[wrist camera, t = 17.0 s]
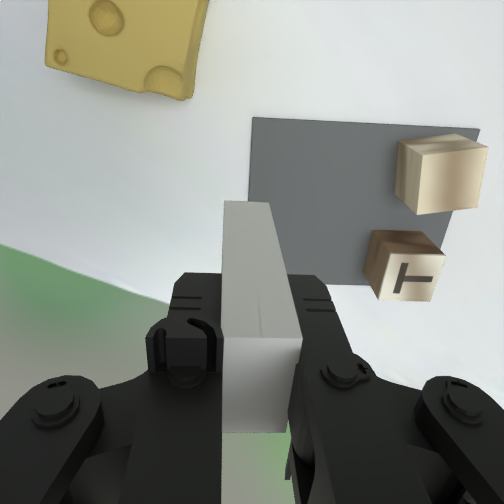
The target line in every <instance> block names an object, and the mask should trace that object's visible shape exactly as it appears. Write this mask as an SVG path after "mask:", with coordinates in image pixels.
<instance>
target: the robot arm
mask: <svg viewBox="0 0 504 504" xmlns="http://www.w3.org/2000/svg"><path fill="white" fill-rule="evenodd" d="M145 339H146V350H147V360H148V370H147V371H146V372H144V373H143V374H141V375H140V376H138V377H136V378H134V379H132V380H129V381H126V382H123V383H120V384H116V385H112V386H109V387H104V388H101V389H98V388H97V386H96V385H95V384H94V382H93V381H91V380H89V379H87V378H84V377H82V376H71V375H70V376H69V375H64V376H60V377H56V378H52V379H48V380H46V381H44V382H42V383H40V384H38V385H36V386H34V387H33V388H31V389H30V390H29V391H28V392H27V393H26V394H25V395H23V396H22V397H21V398H20V399H19V400H18V401H17V402H16V403H15V404H14V405H13V407H12V408H11V409H10V410H9V411H8V412H7V413H6V415H5V416H4V417H3V418H2V419H1V420H0V504H221V469H222V459H221V458H222V433H285V432H286V428H287V423H288V419H289V425H290V432H291V444H290V448H289V453H288V459H287V464H286V470H285V480H290V476H291V475H292V483H293V490H294V495H295V496H294V497H295V504H504V410H503V409H502V408H501V407H500V406H499V405H498V404H497V403H496V402H495V401H494V400H493V399H492V398H491V397H490V396H489V395H488V394H486V393H485V392H484V391H482V390H481V389H480V388H479V387H477V386H475V385H473V384H471V383H469V382H467V381H465V380H462V379H459V378H455V377H451V376H436V377H434V378H432V379H430V380H428V381H427V382H426V383H425V385H424V387H423V389H422V390H418V389H414V388H410V387H407V386H403V385H399V384H395V383H392V382H389V381H386V380H383V379H381V378H379V377H377V376H376V374H375V372H374V371H373V370H372V368H371V367H370V365H369V364H368V363H367V362H366V361H365V360H363V359H362V358H361V357H360V356H358V355H356V354H354V353H353V352H352V349H351V347H350V344H349V342H348V339H347V337H346V334H345V332H344V329H343V327H342V324H341V322H340V319H339V316H338V314H337V312H336V309H335V306H334V304H333V301H331V296H330V294H329V291H328V289H327V286H326V285H325V284H324V283H323V282H322V281H321V280H320V279H318V278H317V277H316V276H315V275H300V274H287V273H286V269H285V265H284V261H283V257H282V253H281V249H280V245H279V241H278V237H277V233H276V229H275V225H274V221H273V217H272V213H271V209H270V205H269V202H247V201H224V217H223V244H222V272H221V273H186V272H185V273H184V274H183V275H182V276H181V277H180V278H179V279H178V280H177V281H176V282H175V283H174V288H173V293H172V299H171V302H170V306H169V311H168V316H167V318H164V319H161V320H160V321H159V322H157V323H156V324H155V325H153V327H151V328H150V330H149V332H148V334H147V335H146V337H145Z"/></svg>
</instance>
